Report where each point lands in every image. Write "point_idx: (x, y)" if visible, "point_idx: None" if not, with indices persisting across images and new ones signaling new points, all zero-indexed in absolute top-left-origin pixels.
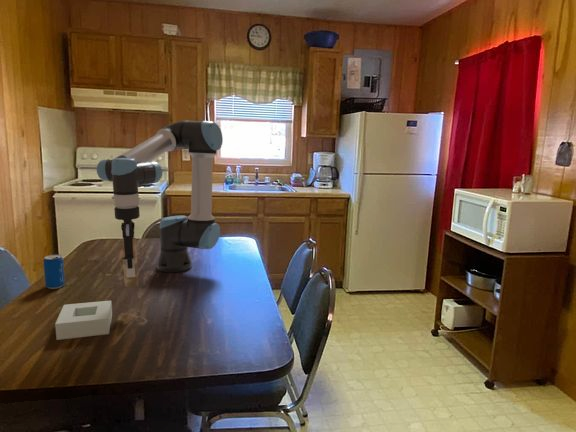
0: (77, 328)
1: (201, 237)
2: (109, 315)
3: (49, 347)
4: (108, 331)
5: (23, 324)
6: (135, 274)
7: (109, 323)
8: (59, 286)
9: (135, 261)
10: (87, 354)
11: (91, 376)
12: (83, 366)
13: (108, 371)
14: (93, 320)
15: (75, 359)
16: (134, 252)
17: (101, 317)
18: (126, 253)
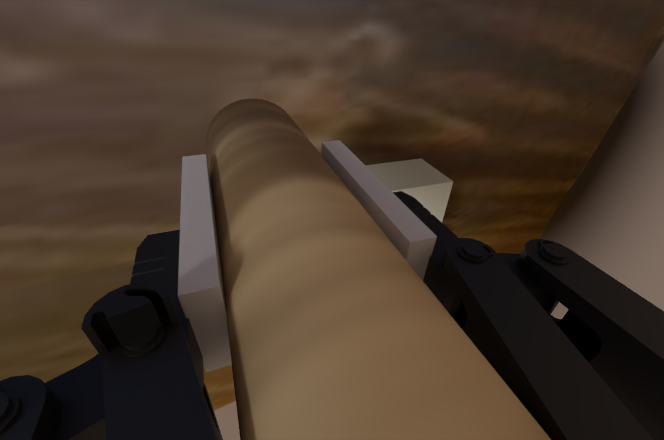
0: None
1: None
2: (393, 182)
3: None
4: (425, 162)
5: None
6: (311, 144)
7: (396, 170)
8: None
9: (353, 199)
10: (494, 185)
11: (574, 156)
12: (533, 180)
13: (582, 126)
14: (441, 218)
15: (499, 202)
16: (428, 289)
17: (436, 202)
18: (584, 345)
